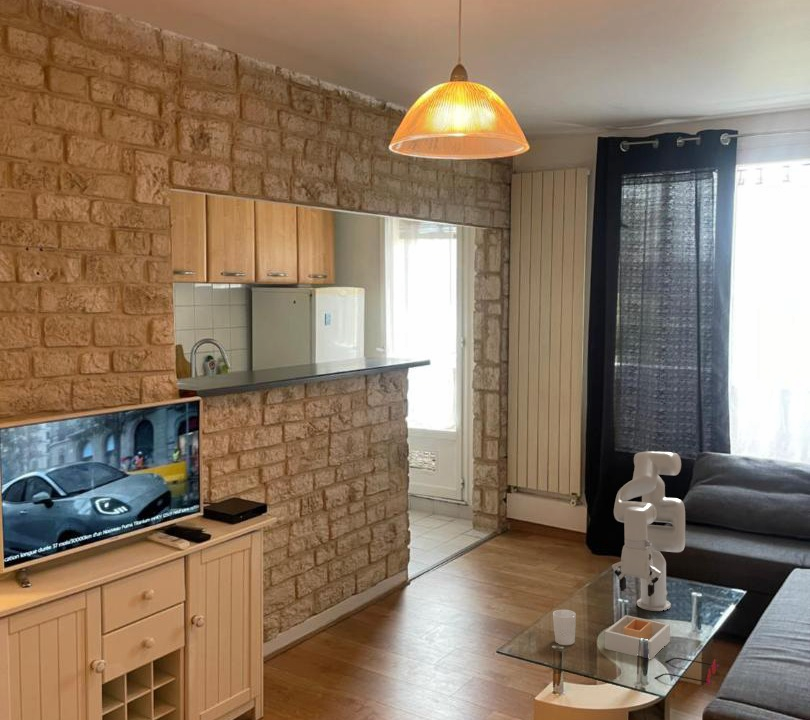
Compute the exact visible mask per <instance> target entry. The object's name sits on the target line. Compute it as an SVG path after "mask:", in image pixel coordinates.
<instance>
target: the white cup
mask: <svg viewBox="0 0 810 720" xmlns="http://www.w3.org/2000/svg"><path fill="white" fill-rule="evenodd" d="M576 616H577V614H576V612H575V611H573V610H570V609H557V610H554V611H553V612H552V620H553V631H554V642H555V643H556V644H557V643H558V644H557V645H560V646H571V645H573V644H575V643H576V640H575V639H576V624H577V623H576V621H577V620H576V619H577V617H576Z"/></svg>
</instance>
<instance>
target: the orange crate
mask: <svg viewBox="0 0 810 720" xmlns="http://www.w3.org/2000/svg"><path fill="white" fill-rule="evenodd" d="M623 635H628V636H632V637H637V638H644V639H648V640H650V639H651V638H652V627H651V622H648V621H643V620H639V619H634V620H632V621H631V622H630V623H629V624H627V625H626V626H625V627H624V628H623Z"/></svg>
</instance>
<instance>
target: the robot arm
mask: <svg viewBox="0 0 810 720" xmlns="http://www.w3.org/2000/svg"><path fill="white" fill-rule="evenodd" d="M633 456H634V457H633V464H634V471H633V474H632V475H633V476H632V480H630V481H628V482H627V483H625V484H623V486H622V487H620V488H619V490H618V491H617V494H616V497H615V500H614V501H615V502H614V506H613V507H614V508H613V516H614V519H615V520H616V521H617V522H620V523H623V524H624V527H623V528H624V545H623V546H622V550H621V556H620V558H621V559H620V561H618V562H616V563H614V564H612V565H611V568H612V569H613V572H614V575H616V577H617V579H618V580H619V588H620V591H621V592H624V591H625V590H627V578H626V577H625V576H628V577H633V578H638V579H640V598H639V599H637V601H636V606H638V607H639V608H640V609H643V610H646V611H651V612H664V611H668V610H669V609H670V608H671V605H672V603H671V602H670V601H669V600H667V595H668V590H667V562H666V559H665V557H664V556H663V554H662V553H661V552H670V553H682V552H683V551H684V549H685V547H686V510H685V509H686V507H685V504H684V502H683V500H682V499H679V498H677V497H666V491H665V490H666V488H665V487H666V484H665V481H664V480H663V479H662V477H660V475H664V476H677V475H679V473H680V472H681V469H682V460H681V456H680V454H678V453H676V452H671V451H652V450H651V451H641V452H637V453H635V454H634V455H633ZM638 497H641V501H635V500H634V501H632V499H634V498H638ZM654 522H655V523H670V524H671V525H672V526H670V525H668V526H667V525H660V524H659V525H658V524H656V525H655V524H653V523H654ZM619 567H620V569H619ZM667 609H668V610H667ZM663 610H664V611H663Z"/></svg>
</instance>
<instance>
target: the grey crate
mask: <svg viewBox="0 0 810 720" xmlns="http://www.w3.org/2000/svg"><path fill="white" fill-rule="evenodd" d="M634 619H639V620H643V621H648V622H651V627H652V638H651V639H650V640H647V641H648V649H649V658H650V659H651V660H653V659H654V657H656V656H657V655H656V654H657V653H658V652H659V651H660V650H661V649H662V648H663V649H664V648H665V647H666V646H667V645H668V644H669V643H670V642H671V624H670V623H664V622H659V621H655V620H650V619H646V618H642V617H641V618H640V617H637V616H631V615H628V614H625V615H624V616H622V617H621V618H620V619H619V620H617V621H616V622H615V623H614V624H612V625H611V626H610V627H609V628H607V629H606V630H605V631H604V649H605V650H609V651H612V652H613V651H614V652H616V653H617V652H618V653H620V654H626V655H630V656H633V657H637V654H638V646H639V639H641V638H637V637H632V636H628V635H623V628H624V627H625V626H626V625H627V624H629V623H630V622H631V621H632V620H634ZM664 646H665V647H664ZM663 649H662V650H663ZM662 650H661V651H662ZM661 651H660V652H661ZM660 652H659V653H660ZM659 653H658V654H659ZM655 655H656V656H655ZM650 659H649V660H650Z"/></svg>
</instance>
